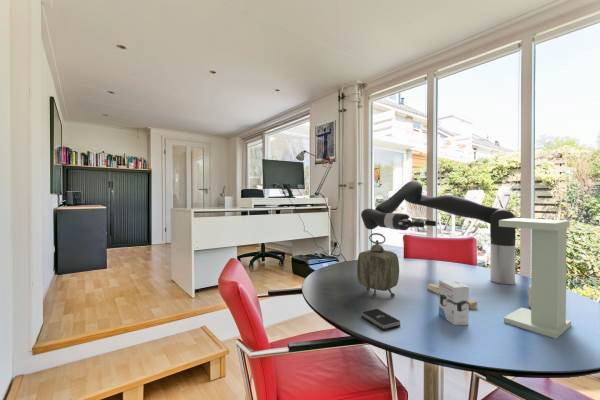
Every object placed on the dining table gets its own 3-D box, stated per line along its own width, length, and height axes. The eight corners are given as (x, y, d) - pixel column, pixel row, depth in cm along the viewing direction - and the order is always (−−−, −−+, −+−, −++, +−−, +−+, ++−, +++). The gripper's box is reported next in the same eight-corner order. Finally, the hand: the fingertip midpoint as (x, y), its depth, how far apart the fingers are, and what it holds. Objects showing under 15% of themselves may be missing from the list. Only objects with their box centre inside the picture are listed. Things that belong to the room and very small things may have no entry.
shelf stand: (516, 310, 97) (516, 217, 97) (571, 325, 86) (572, 220, 85) (498, 320, 89) (498, 220, 89) (555, 338, 78) (556, 223, 77)
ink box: (438, 314, 95) (438, 279, 94) (452, 313, 95) (452, 278, 95) (454, 325, 86) (454, 287, 86) (469, 325, 86) (469, 286, 86)
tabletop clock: (399, 297, 110) (399, 233, 110) (388, 304, 103) (388, 236, 103) (366, 289, 120) (366, 230, 119) (354, 294, 113) (354, 232, 113)
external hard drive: (377, 314, 95) (377, 308, 95) (401, 328, 85) (401, 321, 85) (360, 318, 92) (360, 312, 92) (383, 332, 82) (383, 326, 82)
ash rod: (433, 289, 120) (433, 283, 120) (477, 309, 99) (477, 302, 99) (428, 290, 120) (428, 283, 120) (471, 310, 98) (471, 303, 98)
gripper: (406, 228, 133) (439, 231, 120) (386, 230, 126) (419, 234, 112) (406, 212, 133) (439, 214, 120) (386, 213, 125) (419, 215, 112)
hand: (429, 224), depth 116 cm, fingers open, 8 cm apart
